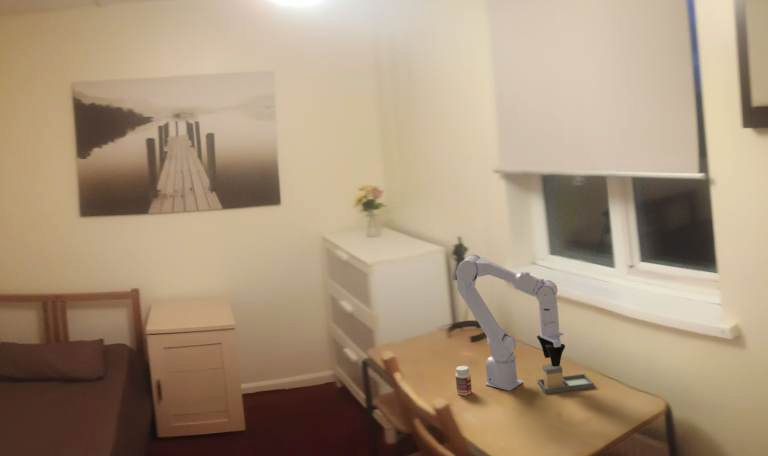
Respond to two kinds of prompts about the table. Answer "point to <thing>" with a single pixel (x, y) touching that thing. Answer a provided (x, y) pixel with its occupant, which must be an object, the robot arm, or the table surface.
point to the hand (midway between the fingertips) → (552, 361)
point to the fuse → (552, 376)
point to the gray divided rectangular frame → (569, 384)
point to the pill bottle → (463, 380)
